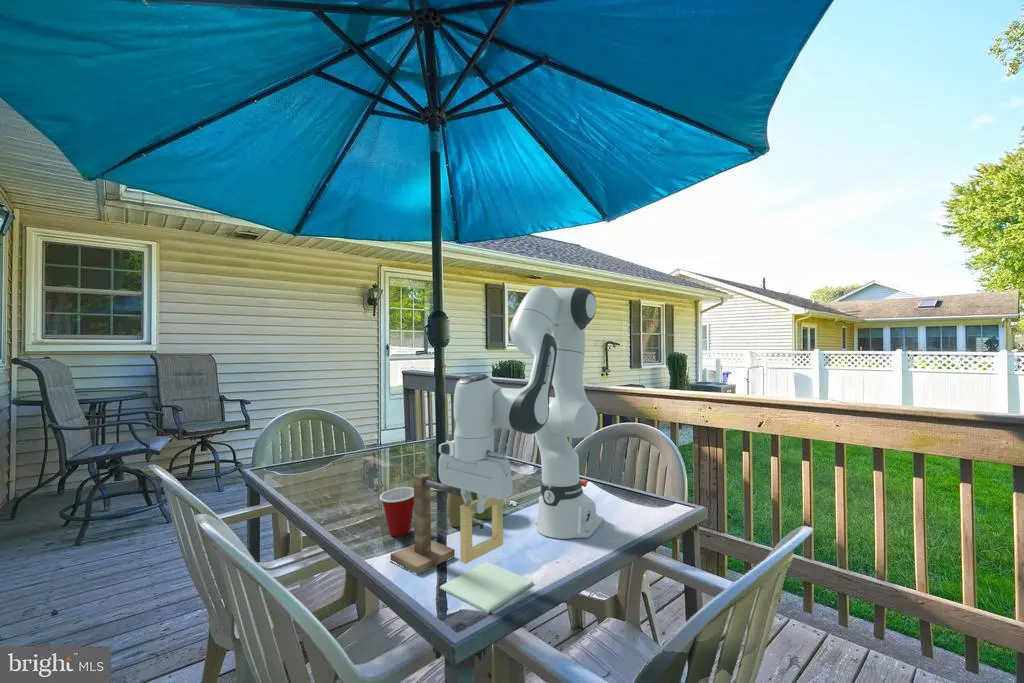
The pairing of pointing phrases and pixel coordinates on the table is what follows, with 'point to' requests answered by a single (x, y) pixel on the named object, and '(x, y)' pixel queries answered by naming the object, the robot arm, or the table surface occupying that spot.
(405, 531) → the plastic cup
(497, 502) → the yellow picture frame
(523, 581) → the sage mat
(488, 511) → the plant pot
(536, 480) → the table surface
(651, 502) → the table surface
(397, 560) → the hook stand
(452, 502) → the squeeze bottle
